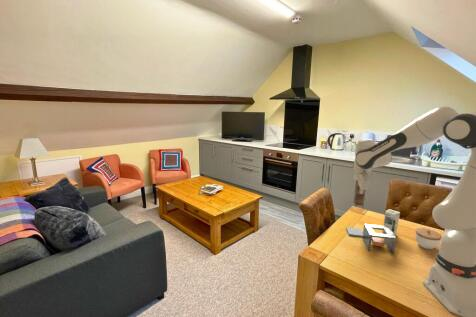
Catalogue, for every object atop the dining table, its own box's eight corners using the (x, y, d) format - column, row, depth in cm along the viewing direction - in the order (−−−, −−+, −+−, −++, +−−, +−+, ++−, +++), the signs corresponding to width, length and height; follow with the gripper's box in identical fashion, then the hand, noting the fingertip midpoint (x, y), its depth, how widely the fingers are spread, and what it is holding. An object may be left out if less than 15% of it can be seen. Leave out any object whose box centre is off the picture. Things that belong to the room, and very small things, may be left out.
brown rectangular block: (362, 205, 134) (365, 182, 131) (355, 205, 135) (357, 181, 132) (361, 203, 138) (363, 180, 134) (353, 202, 139) (356, 179, 135)
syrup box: (381, 233, 139) (385, 211, 136) (386, 230, 142) (389, 208, 139) (392, 238, 135) (396, 214, 131) (396, 234, 138) (400, 211, 135)
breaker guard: (393, 253, 121) (396, 238, 119) (367, 250, 124) (369, 234, 122) (386, 240, 132) (388, 226, 130) (362, 238, 135) (364, 223, 133)
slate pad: (363, 237, 136) (364, 235, 135) (348, 235, 138) (348, 233, 137) (360, 230, 143) (360, 228, 143) (346, 228, 145) (346, 227, 145)
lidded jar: (429, 240, 132) (432, 225, 130) (443, 252, 121) (447, 236, 119) (409, 239, 133) (411, 224, 131) (421, 251, 123) (424, 235, 120)
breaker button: (384, 246, 125) (384, 243, 124) (373, 245, 126) (374, 241, 125) (381, 241, 129) (381, 238, 129) (371, 240, 130) (371, 236, 130)
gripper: (374, 173, 121) (370, 199, 124) (364, 164, 140) (361, 186, 143) (360, 173, 122) (357, 198, 125) (352, 163, 142) (350, 185, 145)
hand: (359, 191), depth 134 cm, fingers closed on brown rectangular block, 4 cm apart
